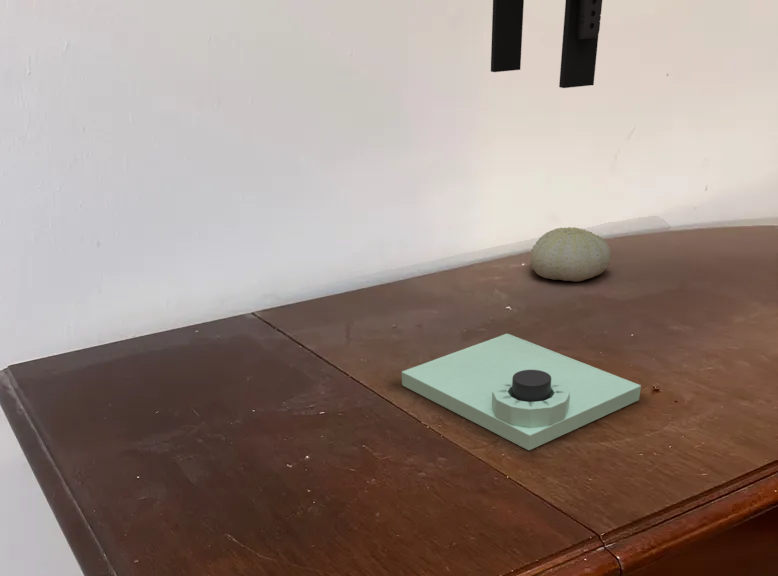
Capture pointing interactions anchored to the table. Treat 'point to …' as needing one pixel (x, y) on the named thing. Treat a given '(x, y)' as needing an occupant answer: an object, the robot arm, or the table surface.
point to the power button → (531, 385)
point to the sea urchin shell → (570, 255)
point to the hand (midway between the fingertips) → (538, 78)
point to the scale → (494, 389)
